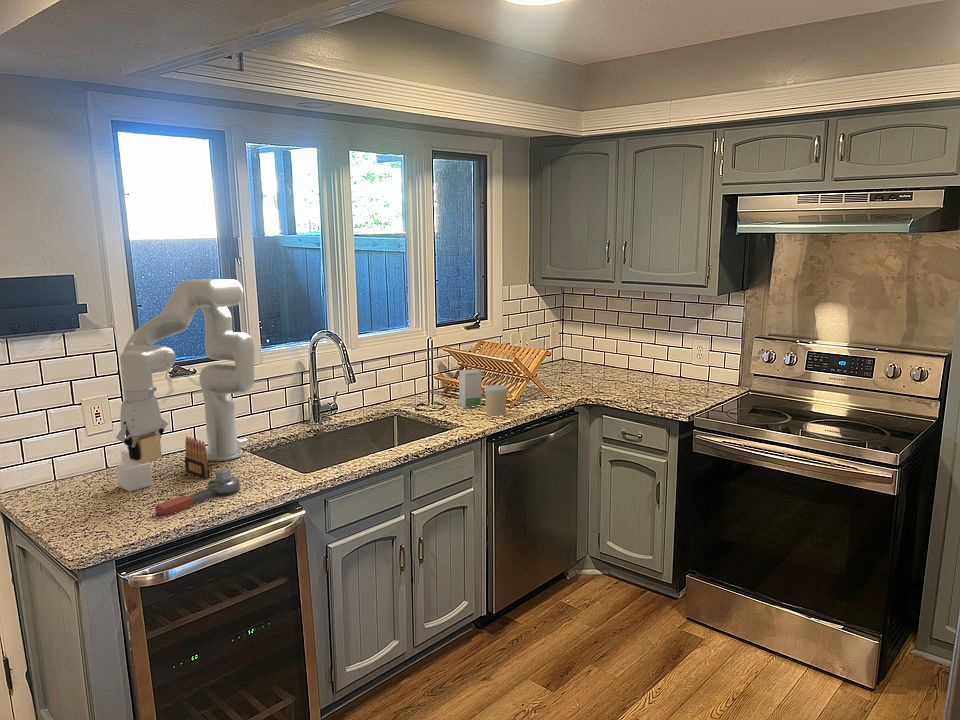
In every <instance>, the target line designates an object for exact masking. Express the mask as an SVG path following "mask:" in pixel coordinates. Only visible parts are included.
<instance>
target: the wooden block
mask: <svg viewBox="0 0 960 720" xmlns="http://www.w3.org/2000/svg"><path fill="white" fill-rule="evenodd" d="M136 446H137V447H138V453H139V460H133V459H131V458H130V456H129V459H130V461H133V462H137V463H141V464H145V463H148V462H149V463H151V462H154V461H157V460H159V459H162V458H163V457H162V446H161V439H160V434H154V433H152V432H151V433H148V434H145V435H141V436H138V439H137V443H136ZM128 450H129V448H128Z"/></svg>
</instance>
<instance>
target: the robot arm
mask: <svg viewBox="0 0 960 720" xmlns="http://www.w3.org/2000/svg"><path fill="white" fill-rule="evenodd" d="M243 298H244V289H243V286H242V284H241V283H240V282H239V281H238V280H236V279H229V278H228V279H223V278H222V279H221V278H218V279H217V278H199V279H185V280H182V281H180V282H178V284H177V285H176V286H175V288H174V290H173V291H172V294H171V295H170V297H169V299H168V300H167V302H166V303H165V305H164V306H163V309H162V311H161V312H160V313H159V314H158V315H157V316H154V317H153V318H151V319H150V320H148V321H146V322H145V323H144V324H142V325H141V326H140V327H138V328H137V329H136V330H135V331H134V332H133V333H132V335H131V336H130V338H129V339H128V341H127V342H126V345H125V346H124V349H123V351H122V353H121V354H120V357H119V360H120V362H119V363H120V371H121V379H122V389H123V399H124V400H123V401H121V403H120V404H121V405H120V417H119V419H120V430H119V432H118V433H117V435H116V437H115V438H116V439H117V440H118V441H120V442H121V443H123V444H124V445H125V446H127V447H128V448H129V456H130V458H131V459H133V460H139V453H138V447H137V446H136V443H137V439H138V436H141V435H145V434H148V433H151V432H152V433H154V434H160V440H161V439H162V435H163V433H164V431H165V430H166V428H167V426H168V421H165V420H164V419H163V418H162V415H161V410H160V406H159V402H158V400H157V397H156V396H155V392H157V390H158V389H157V387H156V386H154V384H153V383H154V382H153V374H155V373H156V374H157V373H162V372H167V371H169V370H171V369H172V368H173V367H174V365H175V363H176V358H177V357H176V353H175V351H174V350H173V348H171V347H169V346H168V345H167V346H166V345H159V344H157V345H155V343H156V342H158V341H161V340H163V339H165V338H168V337H171V336H174V335H177V334H180V333H182V332H184V331H186V330H187V329H188V327H189V326H190V324H191V322H192V320H193V318H194V317H195V314H196V313H197V311H198V310H199V309H200V310H201V312H202V314H203V317H204V353H205V355H206V357H207V358H209V359H210V360H213V361H214V360H215V361H229V362H230V361H231V362H234V364H225V363H213V364H208V365H206V366H204V367H202V369H201V370H200V373H199V376H198V377H199V384H200V388H201V392H202V396H203V401H204V412H205V413H204V414H205V427H206V440H207V442H206V443H207V450H206V454H207V461H208V462H222V461H223V462H225V461H226V462H227V461H231V460H236V459H237V458H240V457H241V456H242V455H243V454H244V453H243V452H244V451H243V449H242V448H241V447H242V446H245V445H247V444H249V439H248V438H242V439H240V438H238V434H237V433H238V432H237V431H238V429H237V420H236V419H237V417H236V404H235V400H234V399H233V397H232V395H234V394H236V395H245V394H248V393H249V392H251V390H252V389H253V386H254V382H255V354H256V353H255V343H254V341H253V338H252V336H250V334H248V333H246V332H239V331H236V332H235V331H234V332H233V317H232V315H231V312H230V310H229V309H228V308H229V307H236V306H238V305H239V304H240V303H241V302H242V299H243ZM126 437H127V438H126Z"/></svg>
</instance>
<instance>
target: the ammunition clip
mask: <svg viewBox="0 0 960 720" xmlns="http://www.w3.org/2000/svg"><path fill="white" fill-rule="evenodd" d="M184 447H185V449H184V451H185V452H184V453H185V456H184V466H185V467H184V469H185V473H186V472H187V474H189V473H190V474H189V475H192V474H193V475H192V476H194V475H195V477H197V476H198V477H197V478H200V479H202V478H203V479H202V480H207V479H210V478H211V477H210V475H211V474H210V465H209V461H208V460H207V454H206V451H207V450H206V444H205V441H204V440H202V441H201V440H200V439H199V440H198V439H197V438H194V437H191V436H188V435H186V437H185V446H184Z"/></svg>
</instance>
